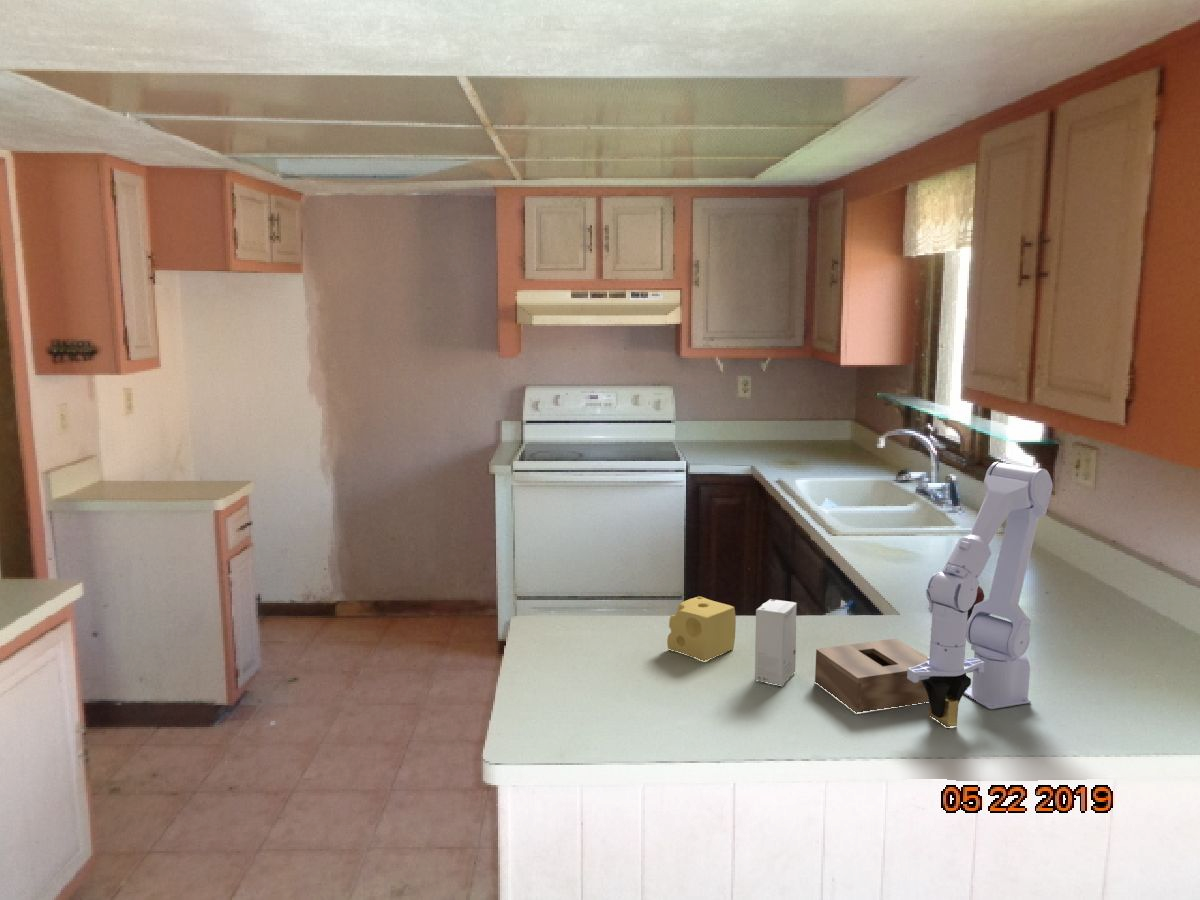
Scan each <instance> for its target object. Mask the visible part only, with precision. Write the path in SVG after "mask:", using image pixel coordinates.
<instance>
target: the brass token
mask: <svg viewBox="0 0 1200 900" xmlns="http://www.w3.org/2000/svg"><path fill="white" fill-rule="evenodd" d="M958 702H959V700H957V699H955V698H954V697H952V696H950V695H949V694H947V695H946V698H945V703H944V712H943V716H942V718H938V717H936V716H935V715H933V714H932V712H931V706H930V702H929V703H928V704H929V705H928V717H929V716H931V717H933V718H935V719H936V720H938V721H939V722H940V723H942V724H943V725H945V726H946V727H950V726H957V727H958V718H959V717H958V716H959V715H958V713H959V704H958ZM959 703H960V702H959Z"/></svg>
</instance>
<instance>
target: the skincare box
mask: <svg viewBox="0 0 1200 900" xmlns="http://www.w3.org/2000/svg"><path fill="white" fill-rule="evenodd" d="M797 605H798V603H797V602H794V601H787V600H780V599H771V598H770V599H768V600H767V601H766V602H764V603H762V604H761V605H760V606H759V607H758V608H756V610H755V650H754V651H755V652H754V653H755V655H754V657H755V658H754V681H755V680H758V681H763V682H768V683H772V684H777V685H781V686H783V685H785V684H786V683H787V682H788V680H789V679H790V678H791V677H792V676H793V675H792V674H793V673H794V672H795V673H796V660H797V659H796V654H797V651H796V649H797V647H796V646H797ZM791 675H792V676H791ZM790 676H791V677H790ZM789 677H790V678H789ZM788 678H789V679H788ZM787 679H788V680H787ZM786 681H787V682H786ZM785 682H786V683H785ZM784 683H785V684H784ZM783 687H784V686H783Z"/></svg>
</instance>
